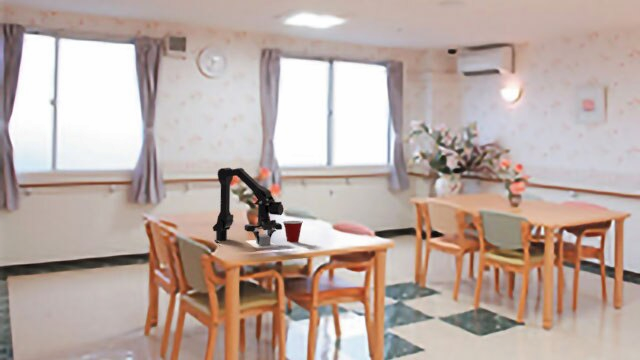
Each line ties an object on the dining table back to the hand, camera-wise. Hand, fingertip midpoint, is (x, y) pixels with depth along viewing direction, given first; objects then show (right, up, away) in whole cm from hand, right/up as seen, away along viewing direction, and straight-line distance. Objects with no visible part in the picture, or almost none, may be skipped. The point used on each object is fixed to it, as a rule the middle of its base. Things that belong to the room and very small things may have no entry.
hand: (263, 243), depth 304 cm
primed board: (-1, -2, +2) cm, 3 cm away
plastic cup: (+15, -1, +11) cm, 18 cm away
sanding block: (0, 0, 0) cm, 0 cm away
